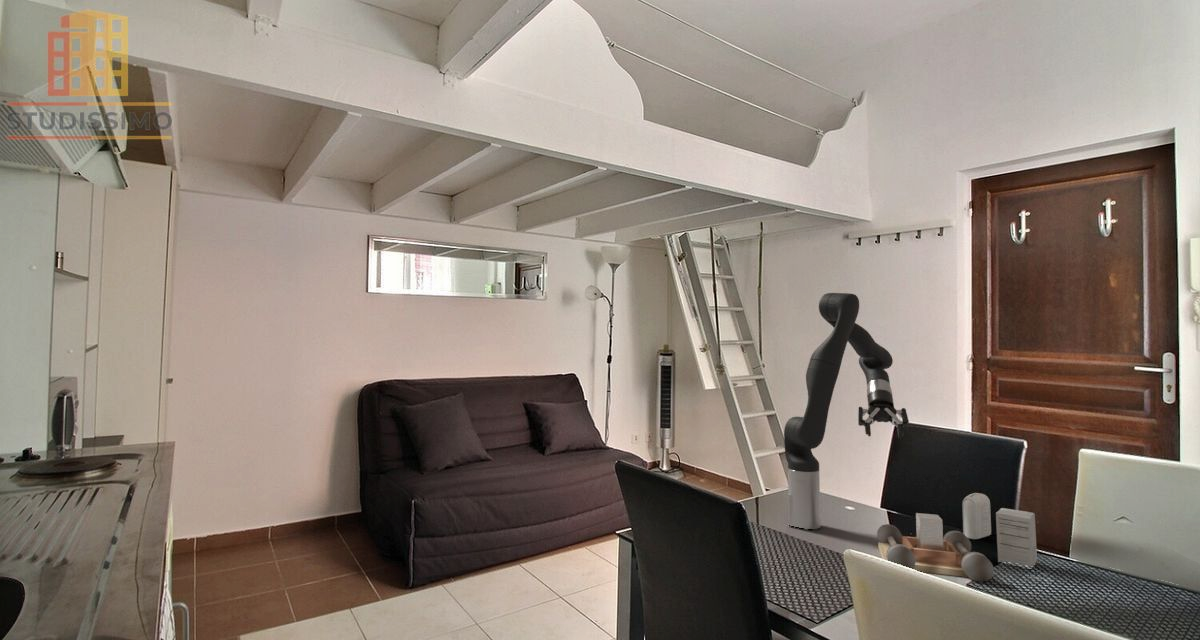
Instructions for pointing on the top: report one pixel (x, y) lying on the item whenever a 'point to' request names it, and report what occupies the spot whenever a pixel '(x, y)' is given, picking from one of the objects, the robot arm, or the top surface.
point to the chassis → (935, 554)
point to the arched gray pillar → (976, 516)
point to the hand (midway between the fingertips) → (884, 435)
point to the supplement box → (1016, 537)
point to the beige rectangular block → (929, 531)
